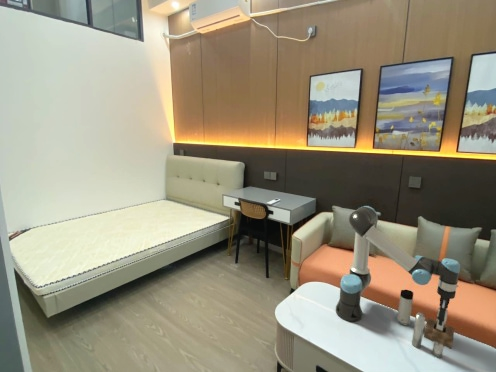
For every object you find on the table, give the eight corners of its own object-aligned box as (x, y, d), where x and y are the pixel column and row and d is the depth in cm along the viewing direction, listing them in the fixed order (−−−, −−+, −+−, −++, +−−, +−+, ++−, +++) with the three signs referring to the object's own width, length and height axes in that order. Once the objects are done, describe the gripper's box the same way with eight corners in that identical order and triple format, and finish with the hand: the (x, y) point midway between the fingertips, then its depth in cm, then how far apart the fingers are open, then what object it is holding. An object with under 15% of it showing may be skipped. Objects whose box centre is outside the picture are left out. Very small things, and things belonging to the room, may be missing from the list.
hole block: (423, 337, 143) (425, 327, 142) (426, 326, 151) (428, 317, 149) (451, 348, 136) (453, 339, 134) (452, 337, 143) (454, 328, 142)
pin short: (431, 354, 132) (433, 344, 131) (432, 350, 135) (434, 340, 134) (441, 359, 129) (443, 349, 128) (442, 354, 132) (444, 344, 131)
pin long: (411, 345, 138) (415, 315, 134) (412, 340, 141) (417, 311, 137) (419, 349, 135) (424, 319, 131) (421, 344, 138) (426, 314, 134)
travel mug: (403, 326, 151) (407, 295, 147) (394, 318, 157) (398, 288, 153) (412, 324, 153) (416, 293, 148) (403, 316, 159) (407, 287, 155)
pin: (434, 332, 142) (438, 310, 139) (435, 328, 145) (439, 306, 142) (443, 336, 140) (447, 313, 137) (444, 332, 143) (448, 309, 140)
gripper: (454, 299, 128) (446, 339, 133) (457, 283, 141) (450, 321, 146) (435, 292, 133) (429, 332, 138) (440, 278, 146) (433, 315, 151)
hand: (439, 326), depth 142 cm, fingers open, 4 cm apart
